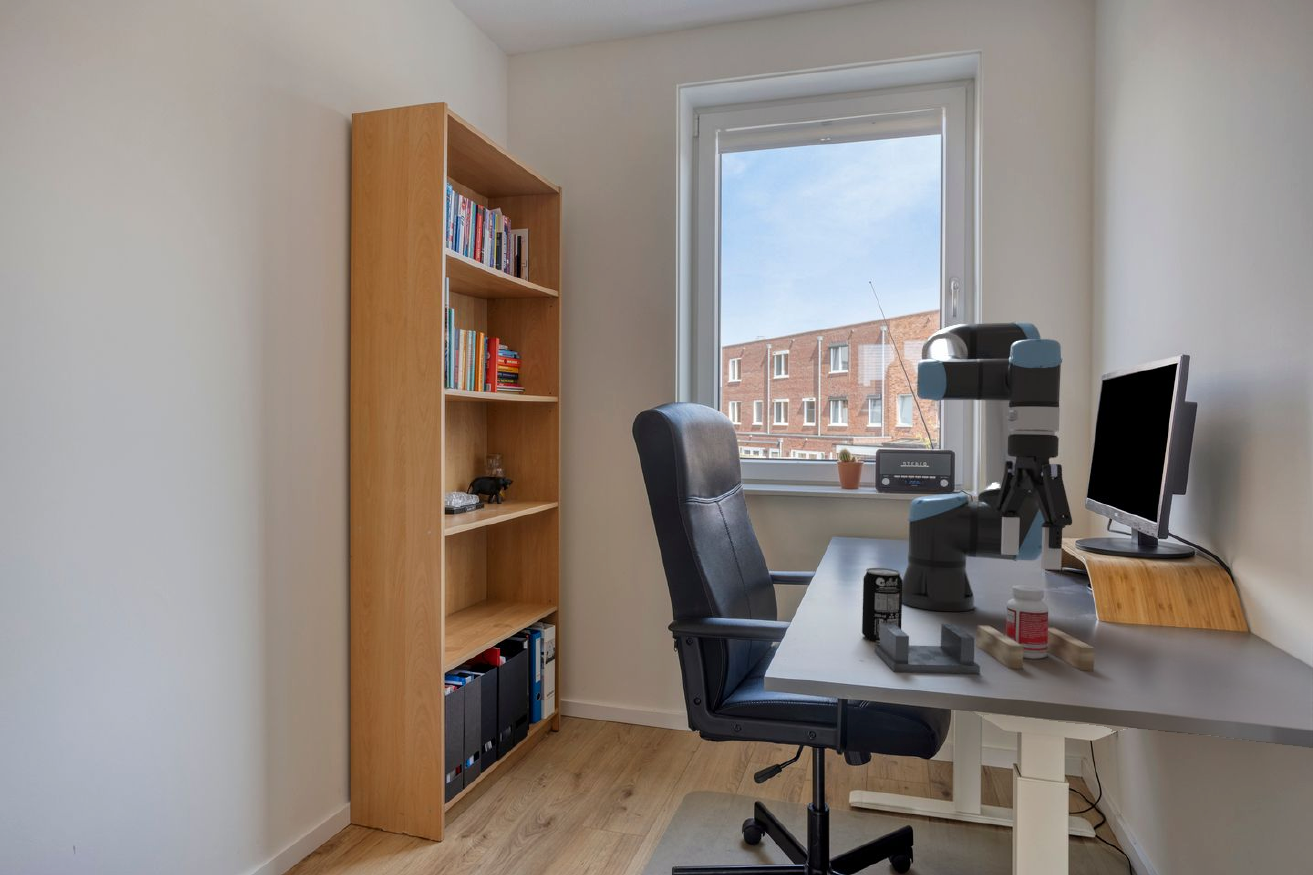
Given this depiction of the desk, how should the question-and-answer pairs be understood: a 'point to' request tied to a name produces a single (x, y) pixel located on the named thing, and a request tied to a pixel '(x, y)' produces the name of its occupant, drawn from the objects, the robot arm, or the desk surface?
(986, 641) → the guide channel
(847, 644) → the desk surface
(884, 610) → the beverage can
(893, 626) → the cradle
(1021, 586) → the pill bottle
